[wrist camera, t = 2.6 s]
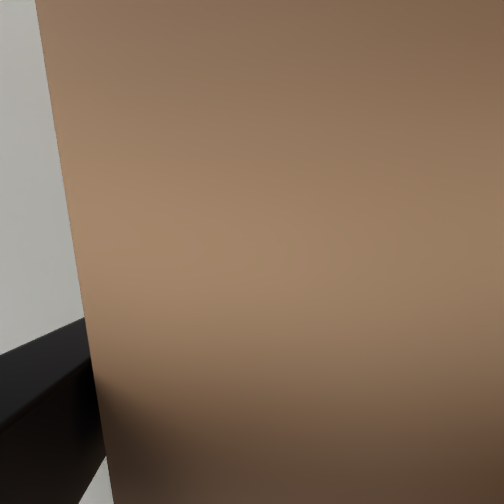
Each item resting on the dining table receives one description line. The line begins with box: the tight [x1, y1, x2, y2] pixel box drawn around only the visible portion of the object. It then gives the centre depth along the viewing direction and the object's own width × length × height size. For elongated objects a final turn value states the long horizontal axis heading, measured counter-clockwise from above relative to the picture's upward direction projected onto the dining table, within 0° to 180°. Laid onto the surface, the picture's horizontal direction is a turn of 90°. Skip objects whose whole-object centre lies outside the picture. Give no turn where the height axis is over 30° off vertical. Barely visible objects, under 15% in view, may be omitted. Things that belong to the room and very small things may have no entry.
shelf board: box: [35, 0, 504, 504], centre depth 7 cm, size 14×6×4 cm, turn 177°
